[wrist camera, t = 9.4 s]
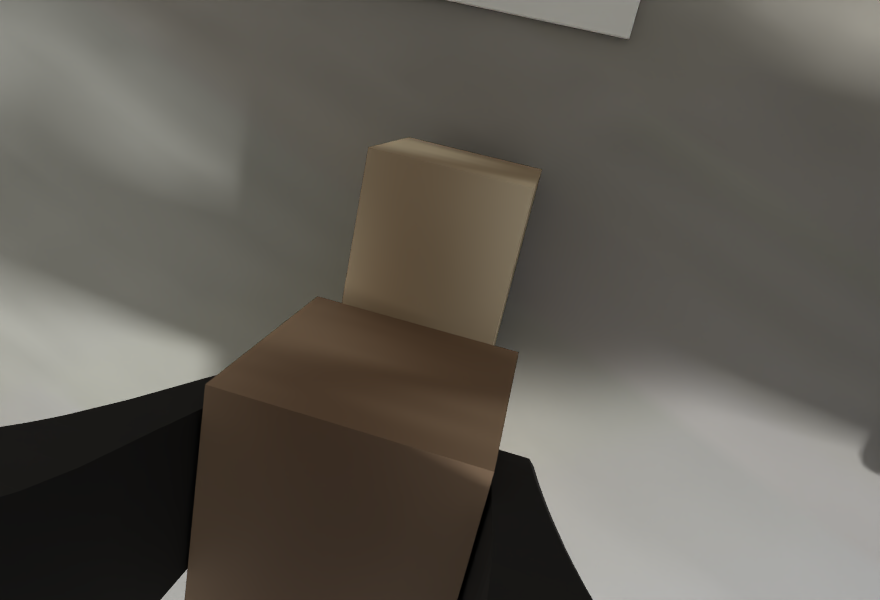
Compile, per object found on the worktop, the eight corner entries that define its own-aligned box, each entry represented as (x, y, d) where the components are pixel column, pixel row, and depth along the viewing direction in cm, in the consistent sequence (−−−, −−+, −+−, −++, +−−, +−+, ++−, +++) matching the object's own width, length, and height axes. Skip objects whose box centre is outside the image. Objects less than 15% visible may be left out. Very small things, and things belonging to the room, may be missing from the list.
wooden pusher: (564, 175, 13) (558, 248, 7) (461, 542, 17) (392, 822, 10) (387, 132, 14) (226, 162, 7) (322, 497, 17) (171, 739, 11)
